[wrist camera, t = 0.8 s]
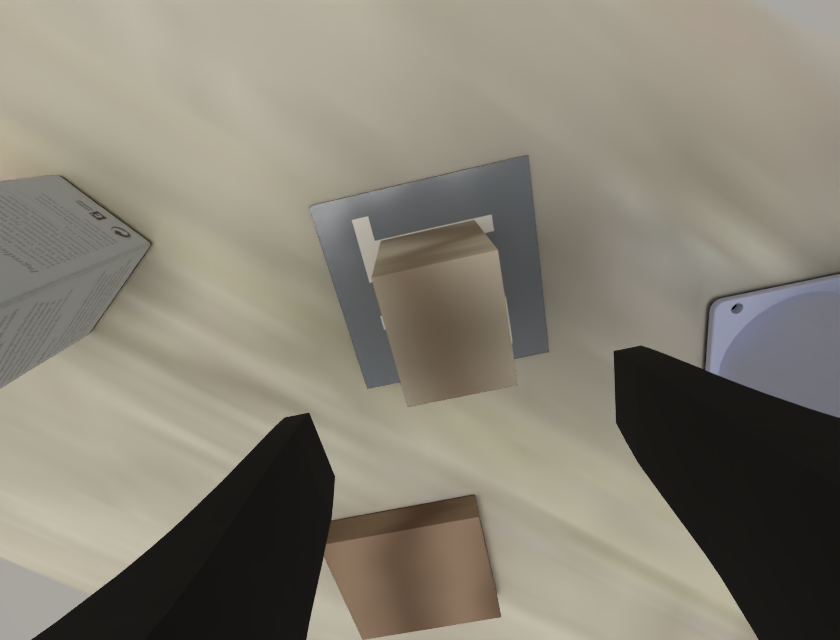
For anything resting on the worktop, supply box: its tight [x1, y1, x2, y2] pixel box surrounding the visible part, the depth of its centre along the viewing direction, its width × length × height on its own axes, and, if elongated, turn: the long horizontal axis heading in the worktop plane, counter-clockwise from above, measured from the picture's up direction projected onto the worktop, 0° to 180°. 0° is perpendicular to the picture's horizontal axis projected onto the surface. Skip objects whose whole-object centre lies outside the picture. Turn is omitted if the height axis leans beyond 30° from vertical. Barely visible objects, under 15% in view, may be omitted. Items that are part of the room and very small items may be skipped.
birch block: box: [371, 220, 518, 407], centre depth 16 cm, size 4×5×5 cm
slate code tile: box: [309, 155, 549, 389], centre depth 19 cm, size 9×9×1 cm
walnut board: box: [324, 495, 501, 640], centre depth 25 cm, size 9×9×2 cm
